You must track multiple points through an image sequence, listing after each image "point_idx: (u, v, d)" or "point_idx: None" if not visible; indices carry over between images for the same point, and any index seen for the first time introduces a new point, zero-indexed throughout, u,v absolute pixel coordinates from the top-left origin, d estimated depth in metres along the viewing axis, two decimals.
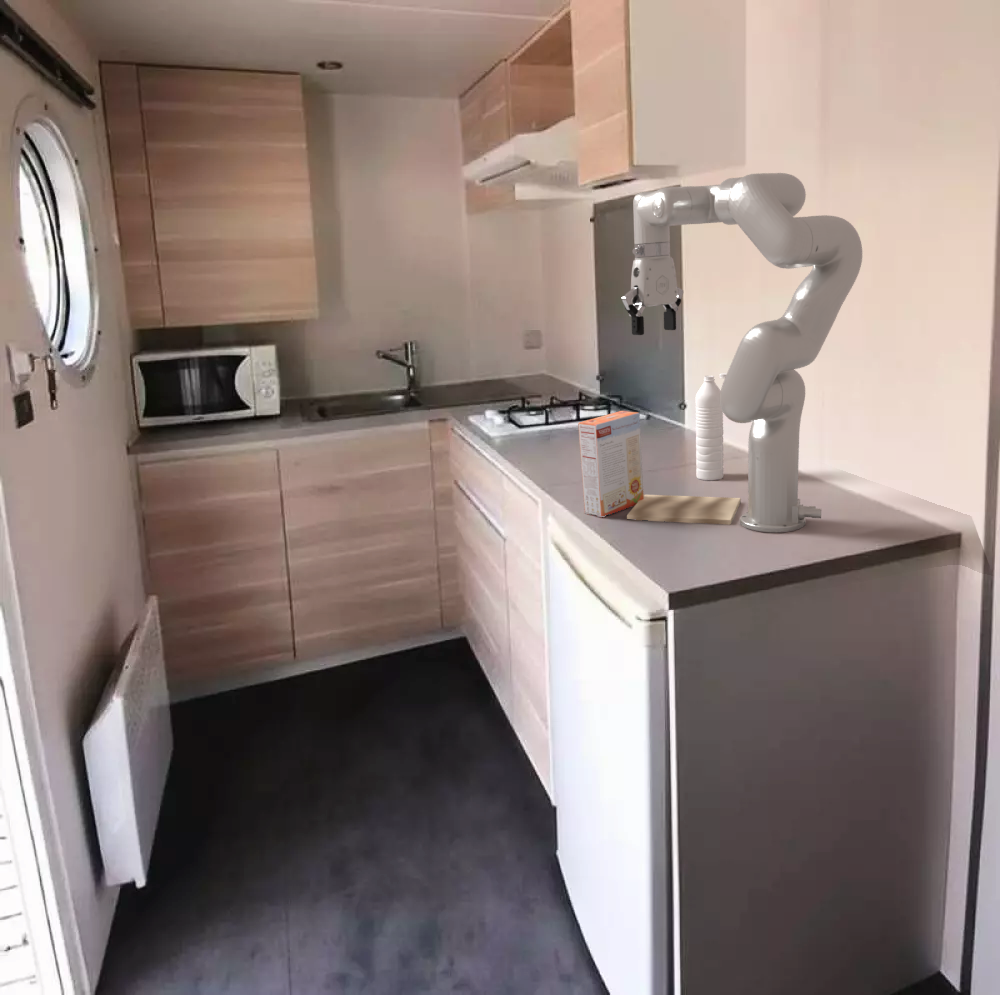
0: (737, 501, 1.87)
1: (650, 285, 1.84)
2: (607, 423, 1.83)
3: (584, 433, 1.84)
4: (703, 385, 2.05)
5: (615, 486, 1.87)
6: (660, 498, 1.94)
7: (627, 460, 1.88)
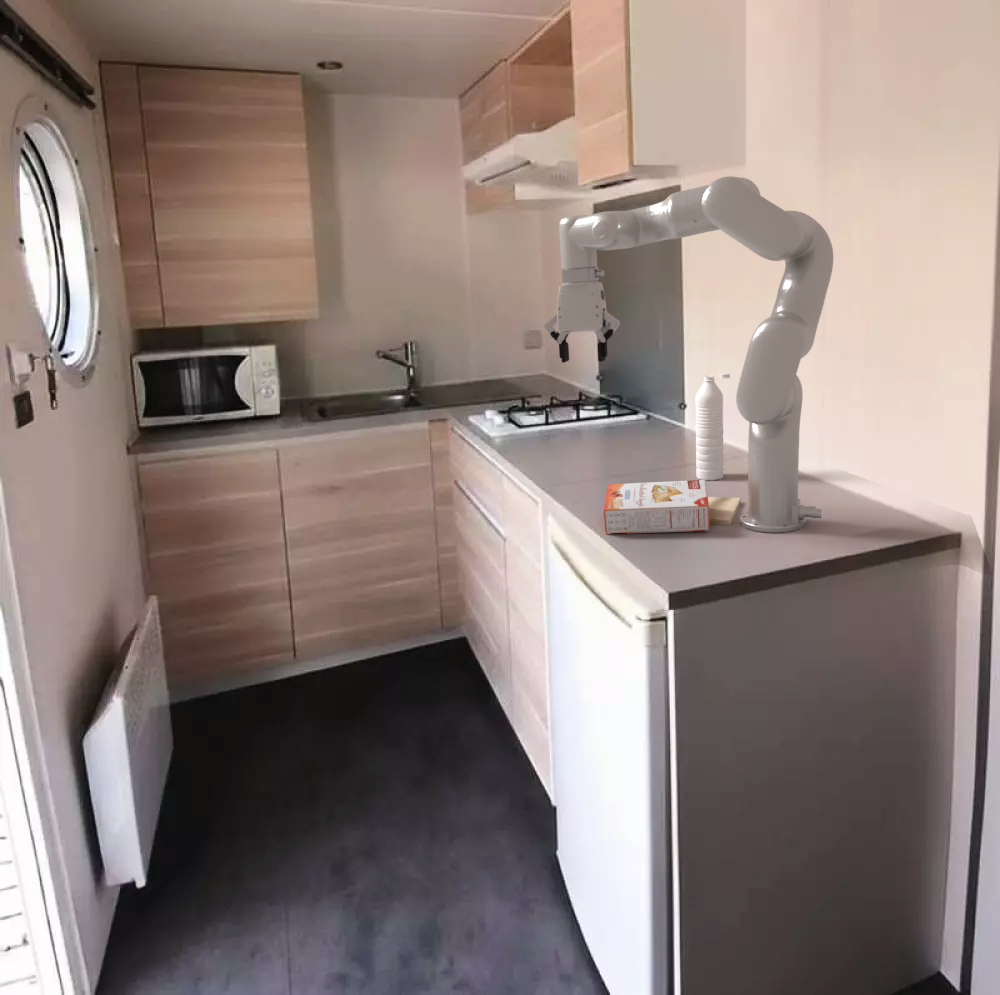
0: (737, 501, 1.87)
1: None
2: None
3: (697, 515, 1.71)
4: (703, 385, 2.05)
5: None
6: None
7: None
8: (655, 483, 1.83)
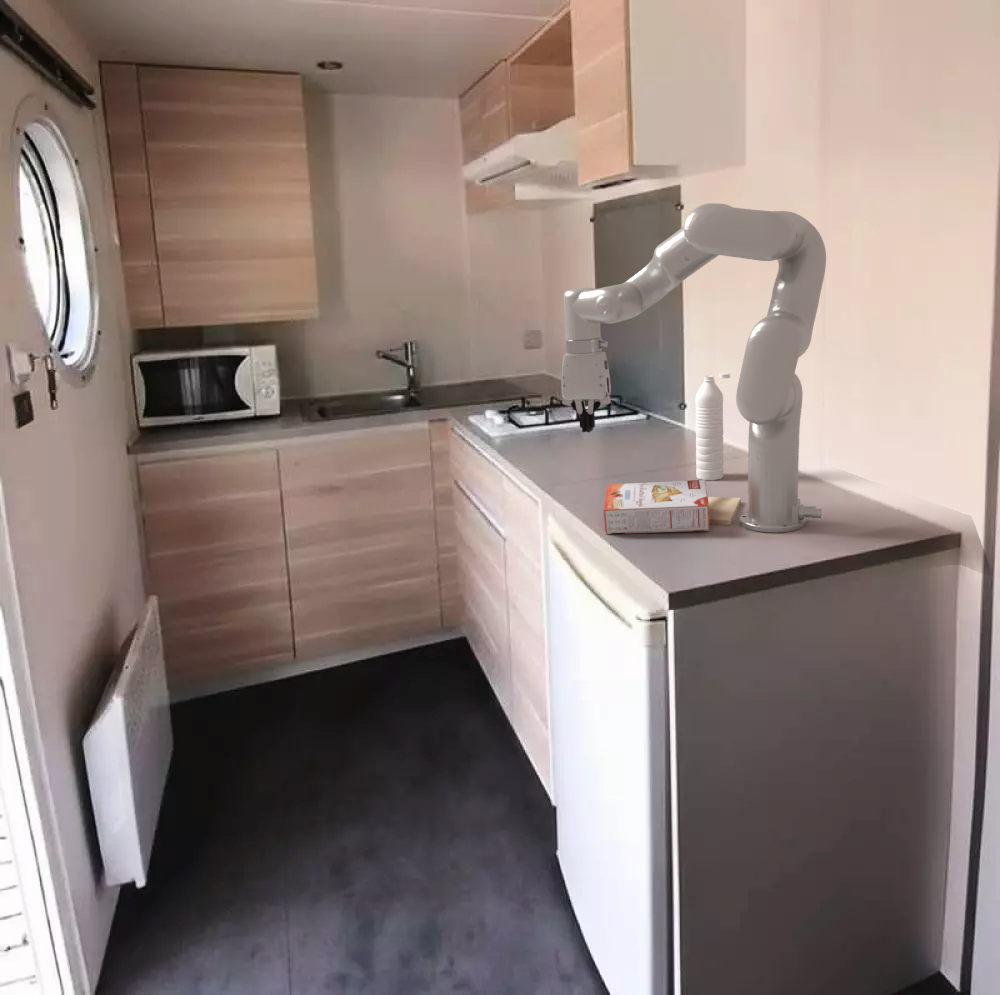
0: (737, 501, 1.87)
1: None
2: None
3: (697, 514, 1.71)
4: (703, 385, 2.05)
5: None
6: None
7: None
8: (655, 483, 1.83)
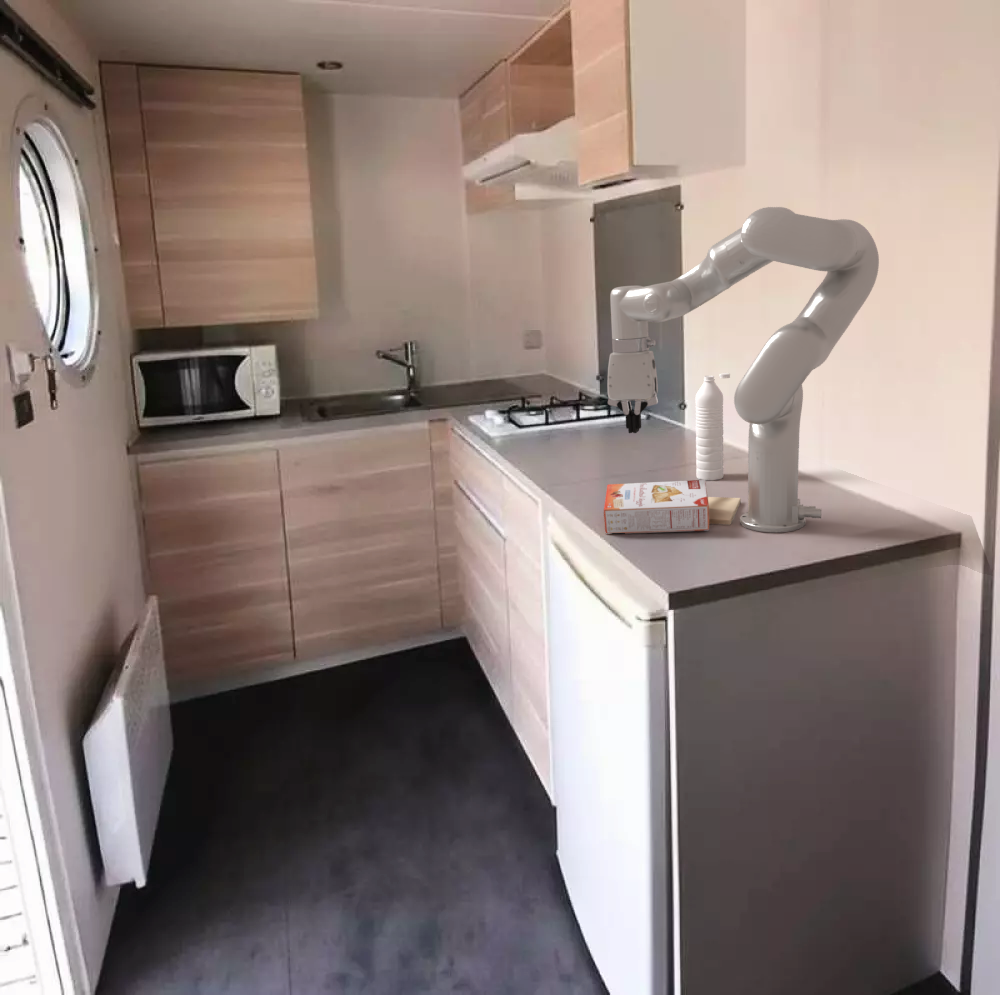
0: (737, 501, 1.87)
1: None
2: None
3: (697, 514, 1.71)
4: (703, 385, 2.05)
5: None
6: None
7: None
8: (655, 483, 1.83)
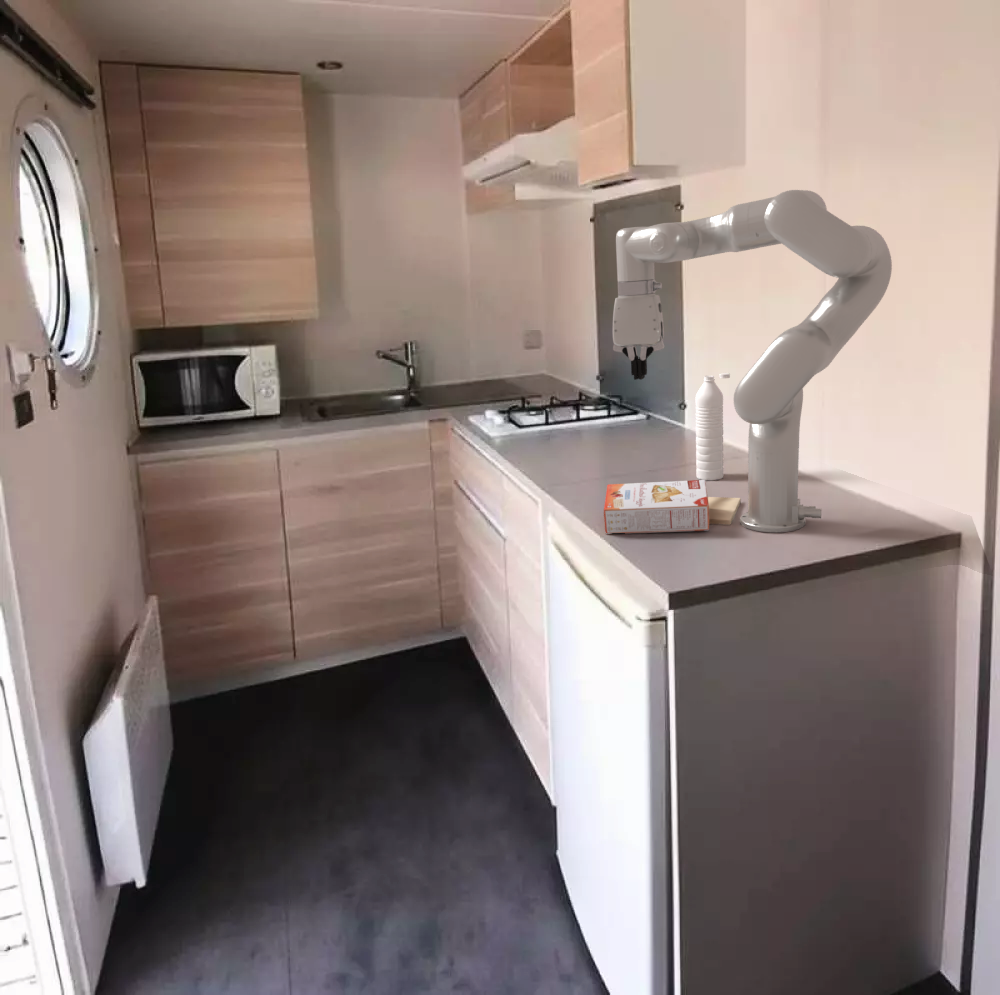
0: (737, 501, 1.87)
1: None
2: None
3: (697, 514, 1.71)
4: (703, 385, 2.05)
5: None
6: None
7: None
8: (655, 483, 1.83)
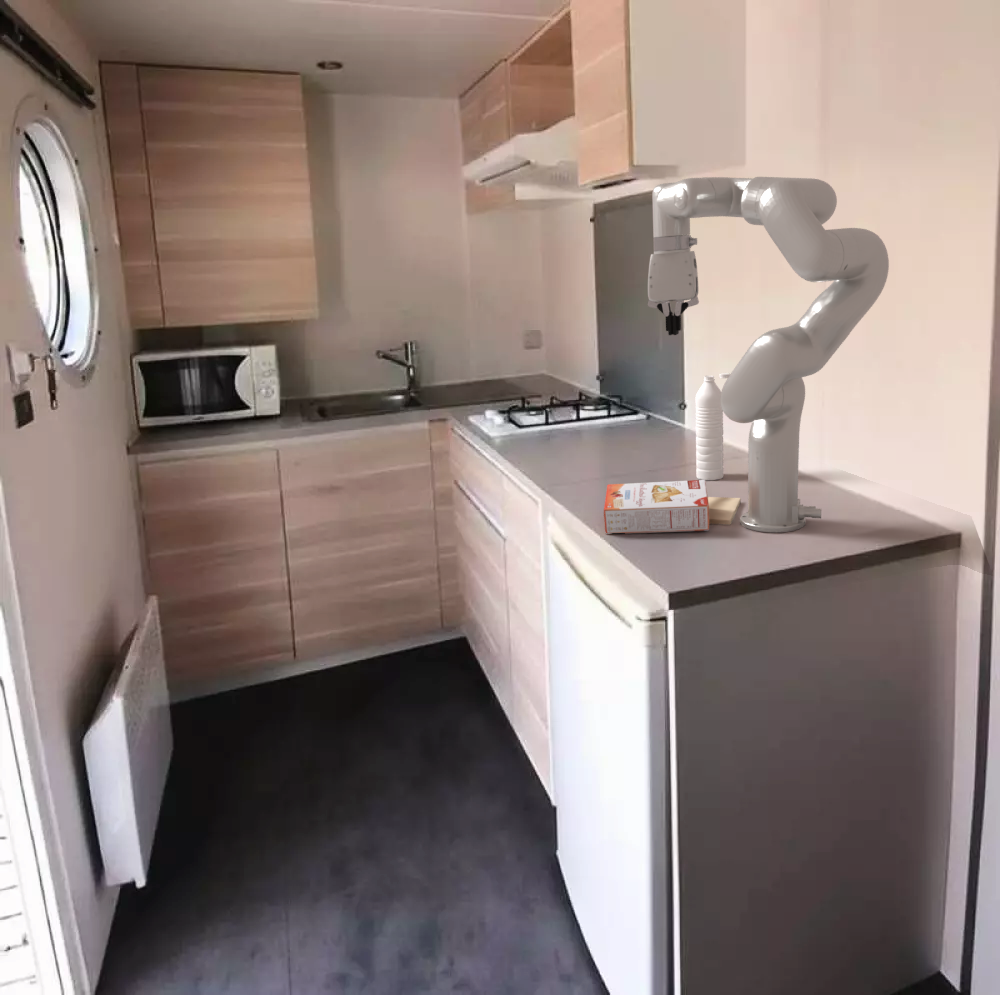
0: (737, 501, 1.87)
1: None
2: None
3: (697, 514, 1.71)
4: (703, 385, 2.05)
5: None
6: None
7: None
8: (655, 483, 1.83)
